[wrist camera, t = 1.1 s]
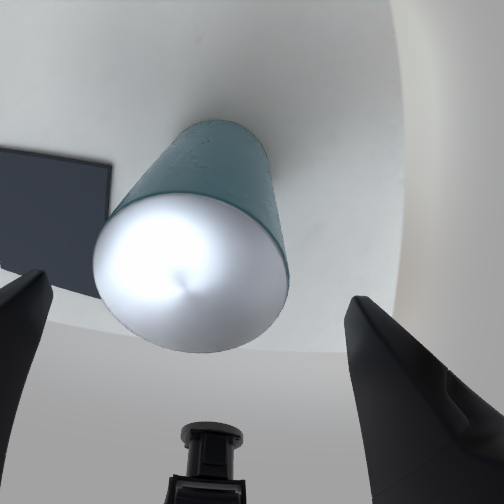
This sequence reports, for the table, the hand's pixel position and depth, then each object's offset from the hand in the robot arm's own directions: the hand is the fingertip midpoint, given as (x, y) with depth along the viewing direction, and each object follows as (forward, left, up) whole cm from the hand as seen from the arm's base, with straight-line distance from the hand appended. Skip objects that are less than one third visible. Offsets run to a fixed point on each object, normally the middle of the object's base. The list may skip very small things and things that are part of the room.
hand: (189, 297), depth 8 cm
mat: (-6, +11, -10) cm, 16 cm away
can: (0, 0, -10) cm, 10 cm away
